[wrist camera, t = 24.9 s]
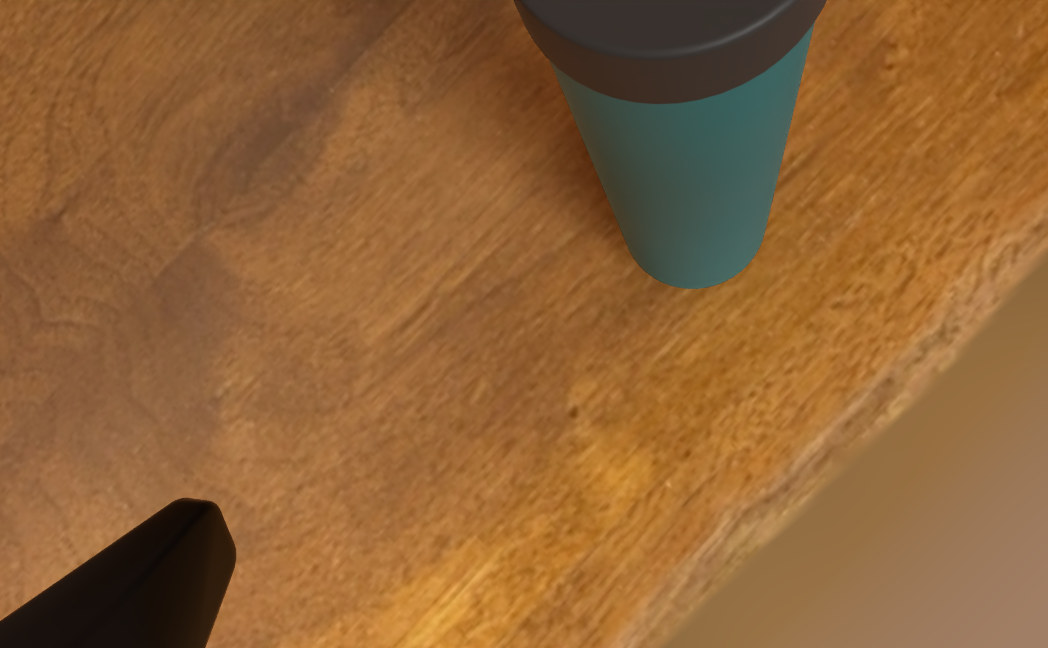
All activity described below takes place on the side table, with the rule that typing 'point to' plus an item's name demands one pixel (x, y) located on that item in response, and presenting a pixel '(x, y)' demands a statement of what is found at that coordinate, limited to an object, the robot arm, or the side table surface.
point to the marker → (681, 117)
